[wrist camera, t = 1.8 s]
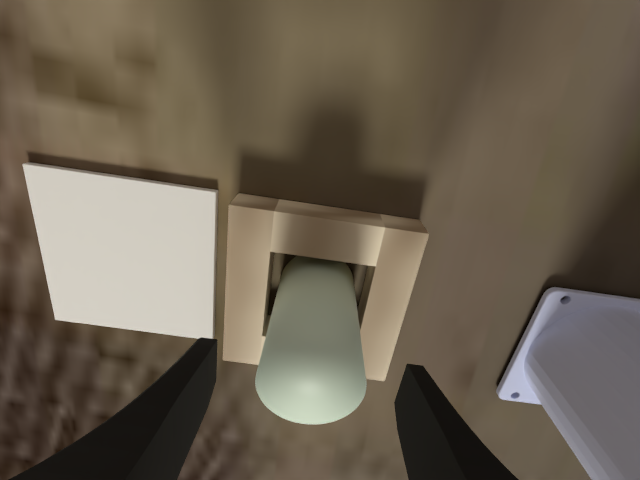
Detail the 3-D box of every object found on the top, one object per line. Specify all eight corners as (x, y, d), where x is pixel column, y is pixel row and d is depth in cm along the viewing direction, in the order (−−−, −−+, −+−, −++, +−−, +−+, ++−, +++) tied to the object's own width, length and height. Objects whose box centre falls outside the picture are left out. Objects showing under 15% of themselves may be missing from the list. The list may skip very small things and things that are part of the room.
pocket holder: (419, 219, 17) (429, 233, 15) (380, 357, 21) (384, 381, 19) (238, 192, 17) (228, 204, 15) (231, 337, 20) (222, 360, 19)
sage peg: (360, 256, 18) (377, 350, 12) (346, 318, 20) (355, 429, 13) (284, 245, 18) (259, 334, 11) (277, 308, 19) (251, 417, 13)
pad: (218, 190, 17) (215, 192, 16) (214, 335, 20) (212, 340, 20) (29, 162, 16) (22, 163, 16) (60, 315, 20) (55, 319, 20)
